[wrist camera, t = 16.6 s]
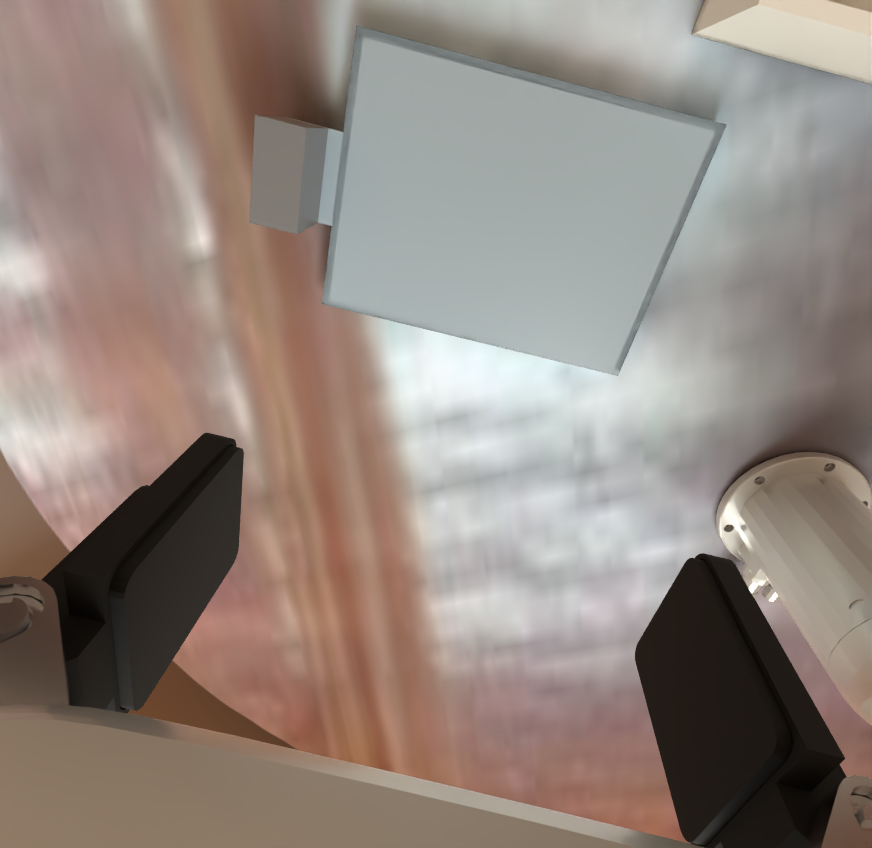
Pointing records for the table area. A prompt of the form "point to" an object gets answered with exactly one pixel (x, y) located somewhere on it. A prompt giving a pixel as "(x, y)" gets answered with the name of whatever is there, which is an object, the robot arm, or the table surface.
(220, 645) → the table surface
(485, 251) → the lid
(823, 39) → the box
